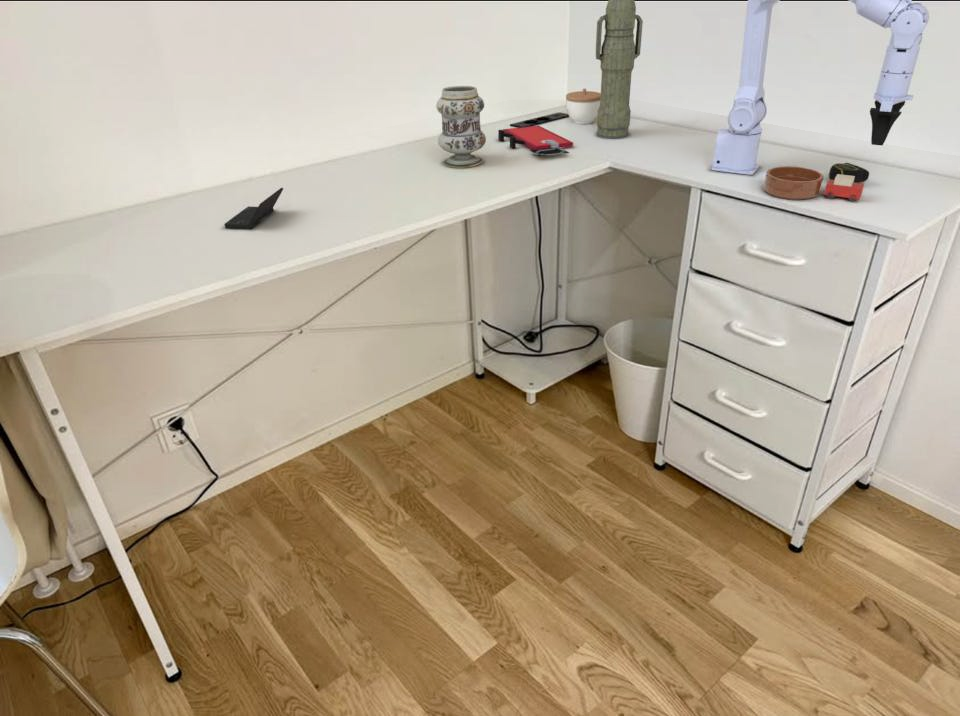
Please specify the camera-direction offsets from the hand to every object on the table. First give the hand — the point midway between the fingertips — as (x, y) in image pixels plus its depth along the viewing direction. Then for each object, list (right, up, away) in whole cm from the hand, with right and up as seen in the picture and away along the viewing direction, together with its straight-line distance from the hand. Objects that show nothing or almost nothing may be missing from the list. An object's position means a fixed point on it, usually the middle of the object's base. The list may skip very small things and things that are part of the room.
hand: (878, 140), depth 147 cm
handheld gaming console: (-131, -17, 0) cm, 132 cm away
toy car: (-8, -12, 0) cm, 14 cm away
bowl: (-17, -10, +3) cm, 20 cm away
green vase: (-47, +17, +49) cm, 70 cm away
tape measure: (-3, -7, +8) cm, 11 cm away
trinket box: (-53, +25, +64) cm, 87 cm away
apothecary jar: (-88, +4, +31) cm, 94 cm away
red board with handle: (-69, +12, +43) cm, 82 cm away
